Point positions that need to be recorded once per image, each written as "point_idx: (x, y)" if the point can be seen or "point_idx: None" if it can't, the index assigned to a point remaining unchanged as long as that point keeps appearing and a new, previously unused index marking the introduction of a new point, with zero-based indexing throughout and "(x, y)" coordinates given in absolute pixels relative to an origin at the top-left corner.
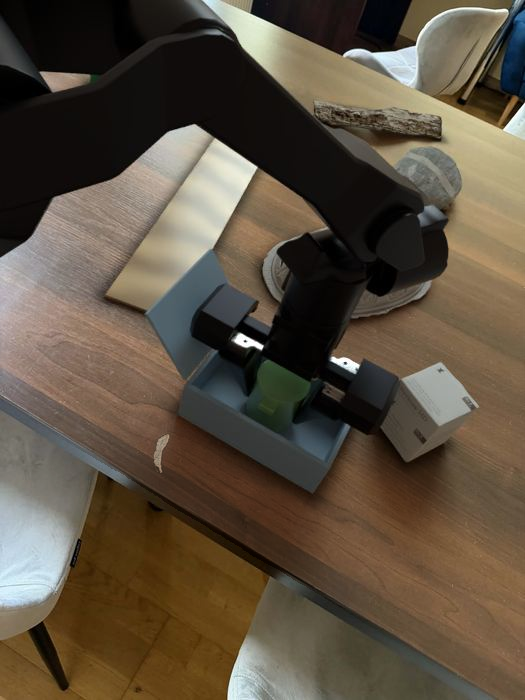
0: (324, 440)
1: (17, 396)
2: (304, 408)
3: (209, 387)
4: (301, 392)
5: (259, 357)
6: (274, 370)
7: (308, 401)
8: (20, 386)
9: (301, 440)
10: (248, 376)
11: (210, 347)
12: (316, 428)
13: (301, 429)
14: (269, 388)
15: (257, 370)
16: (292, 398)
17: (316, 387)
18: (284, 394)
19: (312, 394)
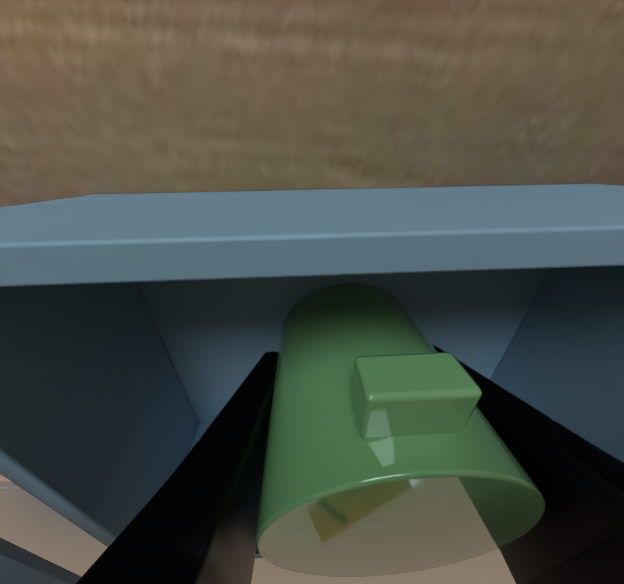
0: (496, 330)
1: (23, 492)
2: (512, 558)
3: (188, 370)
4: (495, 539)
5: (216, 578)
6: (331, 539)
7: (529, 539)
8: (4, 486)
9: None
10: (250, 561)
11: (11, 576)
12: (472, 315)
13: (434, 337)
14: (353, 571)
15: (254, 449)
16: (457, 558)
17: (581, 498)
18: (419, 560)
19: (553, 524)
